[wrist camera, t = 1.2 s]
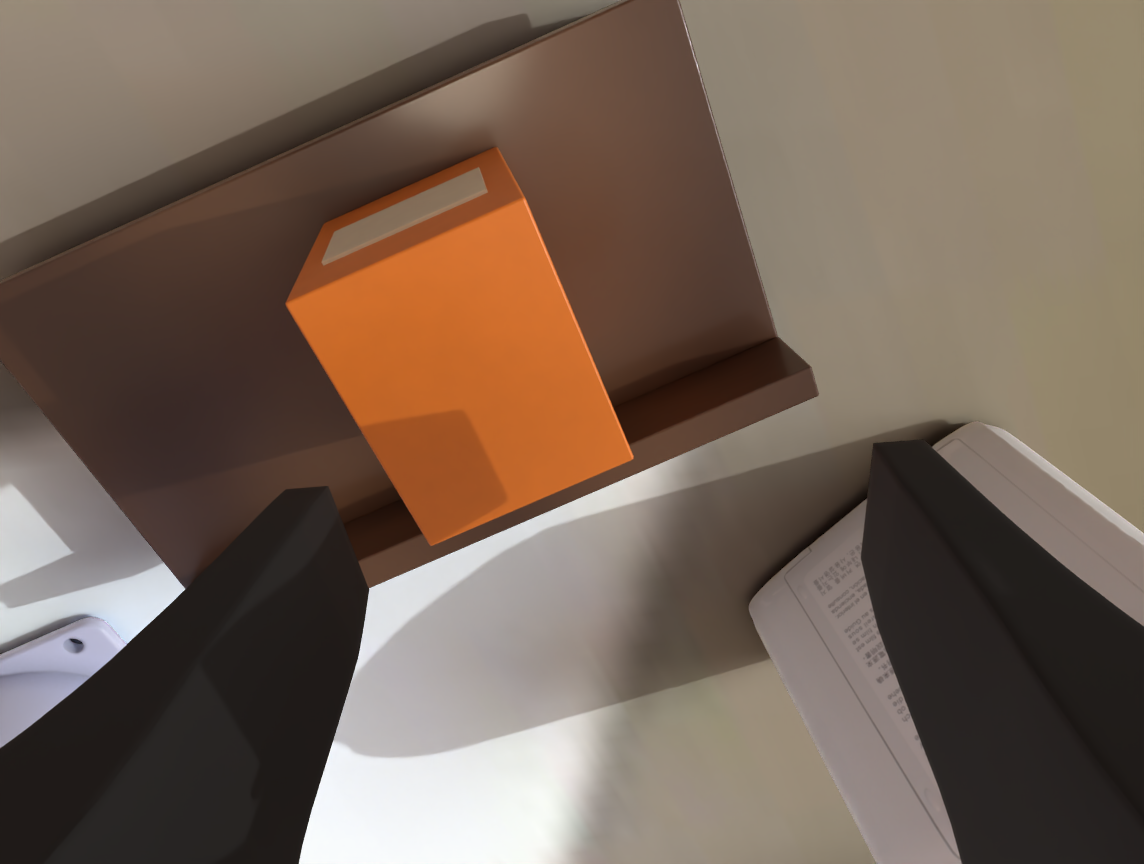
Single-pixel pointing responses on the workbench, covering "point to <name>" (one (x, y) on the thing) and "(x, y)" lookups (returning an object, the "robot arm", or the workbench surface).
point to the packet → (457, 348)
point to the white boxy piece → (859, 659)
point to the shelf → (360, 176)
